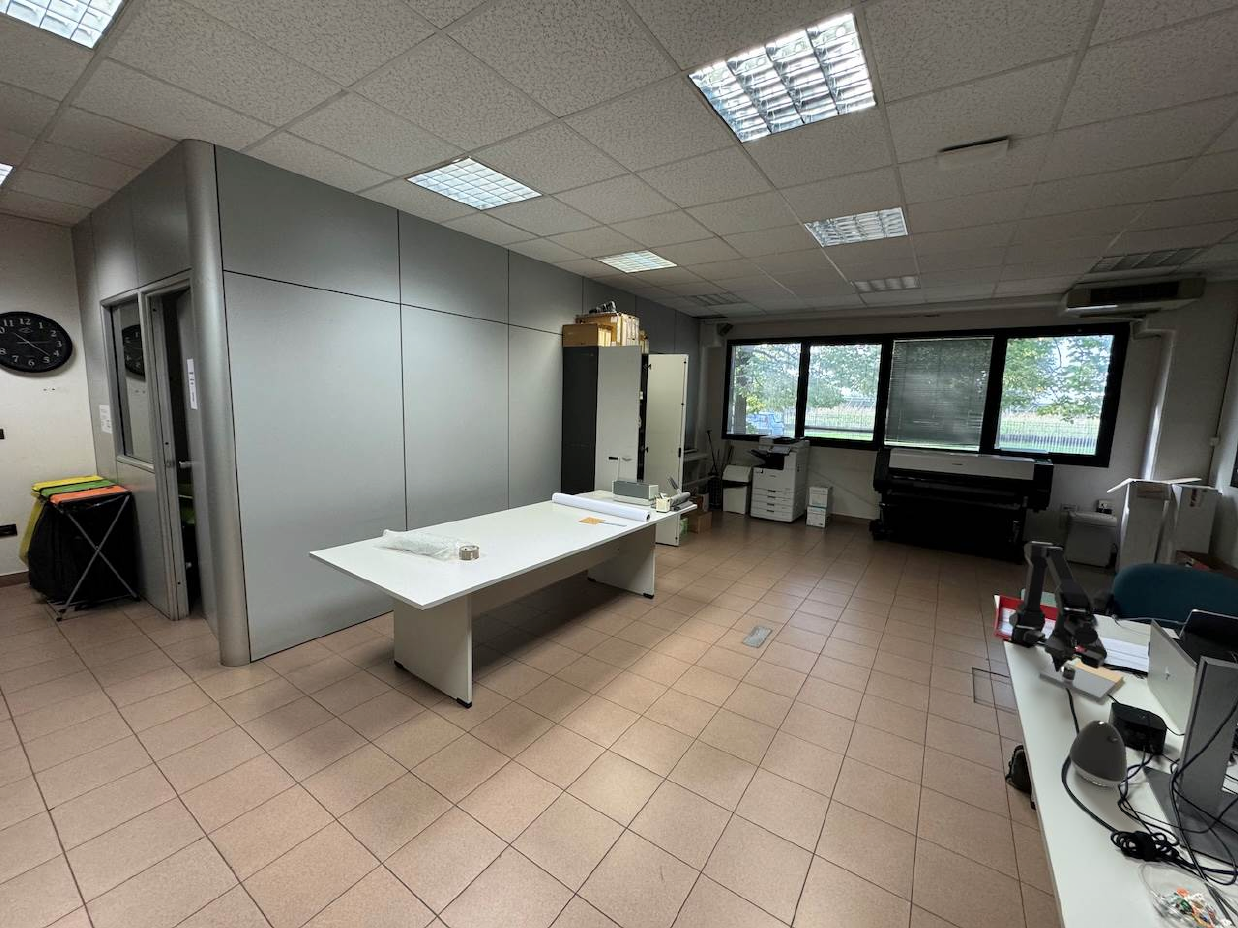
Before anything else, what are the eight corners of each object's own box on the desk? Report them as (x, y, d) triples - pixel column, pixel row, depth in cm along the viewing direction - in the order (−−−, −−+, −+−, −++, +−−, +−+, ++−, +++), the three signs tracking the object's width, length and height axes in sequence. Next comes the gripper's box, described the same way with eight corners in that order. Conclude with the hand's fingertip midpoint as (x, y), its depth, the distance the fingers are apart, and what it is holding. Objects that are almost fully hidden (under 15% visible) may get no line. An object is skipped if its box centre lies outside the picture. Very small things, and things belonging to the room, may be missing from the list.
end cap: (1105, 665, 170) (1109, 647, 169) (1077, 659, 174) (1081, 641, 173) (1098, 652, 178) (1102, 635, 177) (1072, 646, 182) (1075, 629, 181)
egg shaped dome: (1079, 788, 119) (1090, 732, 116) (1058, 757, 129) (1068, 705, 126) (1134, 800, 116) (1146, 743, 113) (1108, 767, 125) (1119, 714, 123)
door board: (1038, 676, 163) (1040, 666, 163) (1064, 657, 175) (1066, 648, 174) (1099, 702, 151) (1101, 691, 150) (1122, 679, 162) (1125, 669, 161)
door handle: (1056, 663, 168) (1057, 652, 167) (1068, 666, 166) (1070, 655, 165) (1061, 680, 158) (1063, 669, 157) (1075, 684, 156) (1077, 672, 155)
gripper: (1020, 620, 160) (1011, 664, 163) (1096, 649, 145) (1085, 696, 148) (1034, 612, 166) (1026, 654, 169) (1109, 638, 150) (1099, 684, 154)
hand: (1057, 671), depth 160 cm, fingers closed
